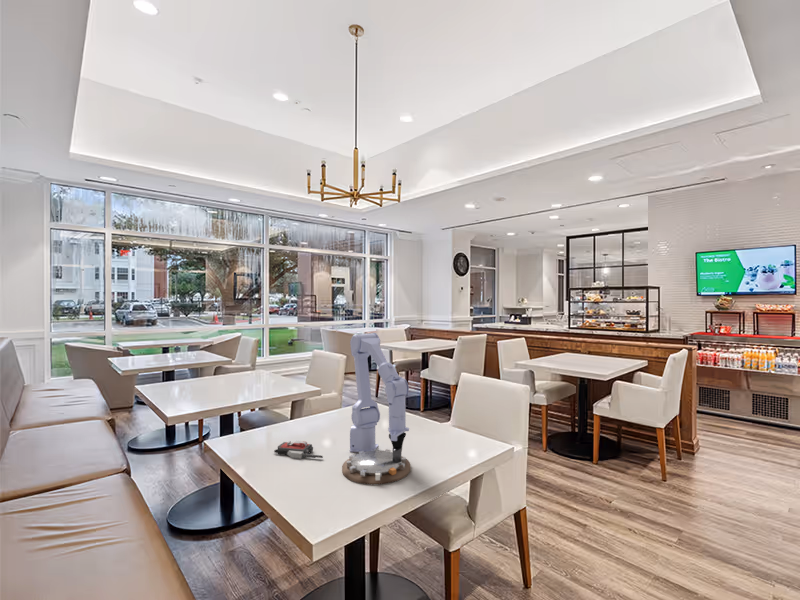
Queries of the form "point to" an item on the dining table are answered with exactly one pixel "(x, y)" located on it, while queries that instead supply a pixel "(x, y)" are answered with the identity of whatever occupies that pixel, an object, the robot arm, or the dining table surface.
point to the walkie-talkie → (296, 449)
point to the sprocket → (377, 462)
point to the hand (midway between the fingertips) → (397, 455)
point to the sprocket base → (376, 475)
